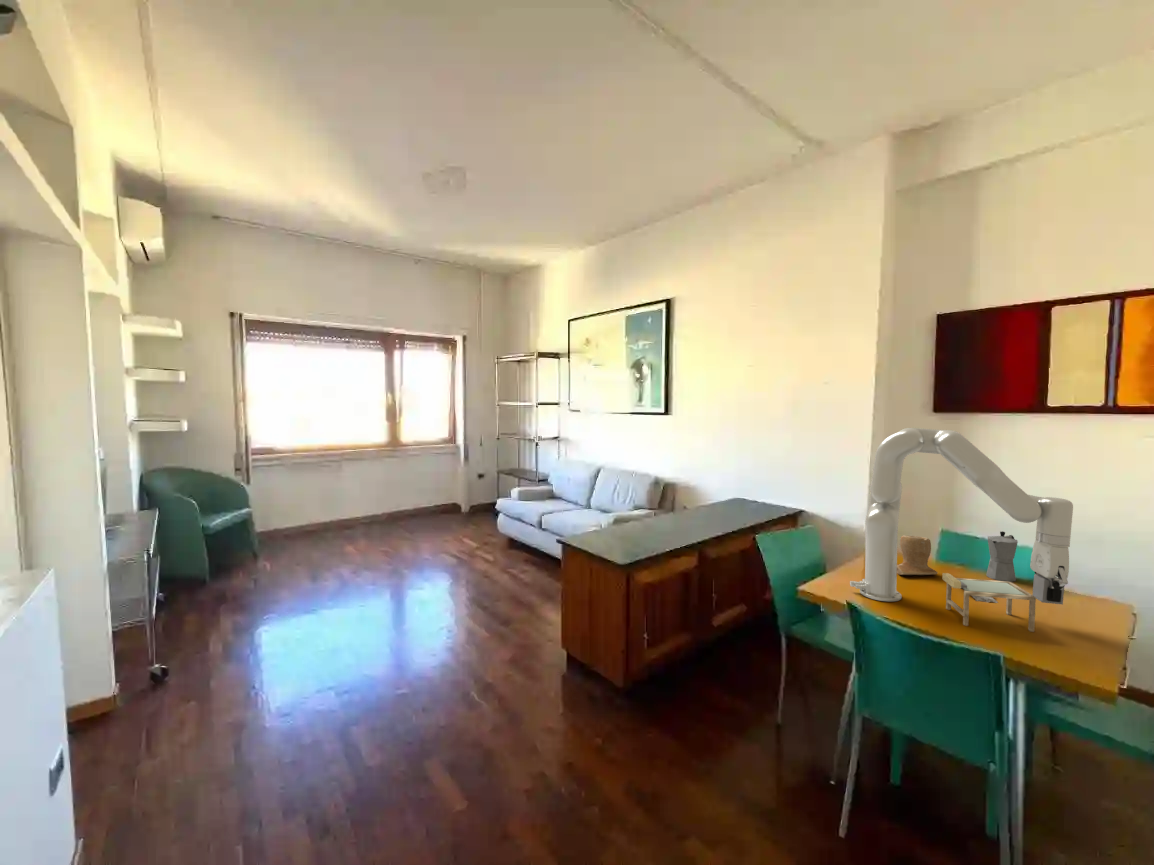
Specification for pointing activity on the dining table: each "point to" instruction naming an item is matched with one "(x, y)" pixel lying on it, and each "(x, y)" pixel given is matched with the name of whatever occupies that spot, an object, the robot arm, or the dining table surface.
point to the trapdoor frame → (965, 610)
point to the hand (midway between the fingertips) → (1047, 596)
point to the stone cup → (915, 556)
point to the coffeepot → (1002, 557)
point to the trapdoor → (980, 585)
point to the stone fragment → (984, 599)
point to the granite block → (1043, 589)
